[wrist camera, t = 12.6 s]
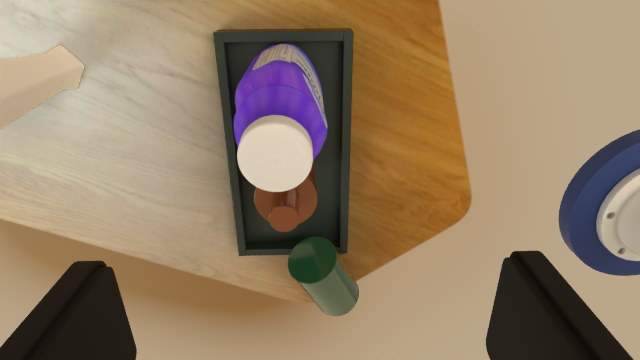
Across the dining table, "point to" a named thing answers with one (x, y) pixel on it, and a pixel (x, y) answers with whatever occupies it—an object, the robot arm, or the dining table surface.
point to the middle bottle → (288, 203)
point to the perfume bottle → (35, 81)
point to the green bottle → (323, 275)
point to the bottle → (279, 118)
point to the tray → (331, 162)
